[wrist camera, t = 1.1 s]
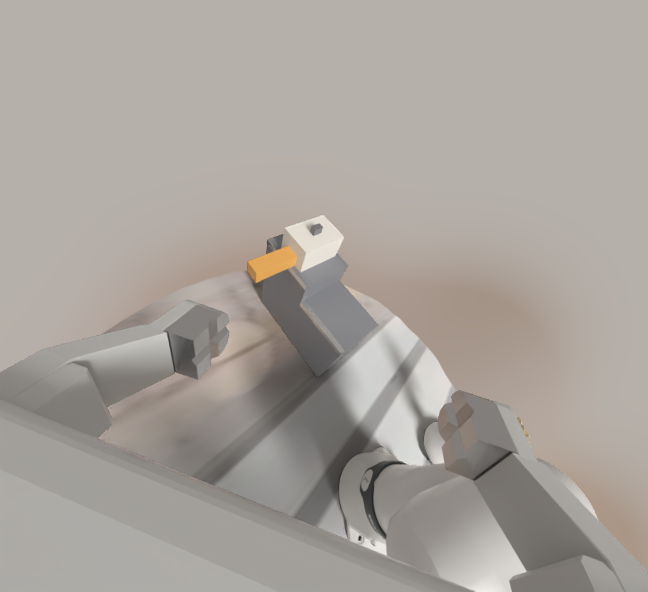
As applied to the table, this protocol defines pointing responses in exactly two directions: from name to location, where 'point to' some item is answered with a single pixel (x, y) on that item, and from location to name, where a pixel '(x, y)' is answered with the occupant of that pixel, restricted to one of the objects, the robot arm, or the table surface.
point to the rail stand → (316, 310)
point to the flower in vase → (435, 442)
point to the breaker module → (299, 249)
